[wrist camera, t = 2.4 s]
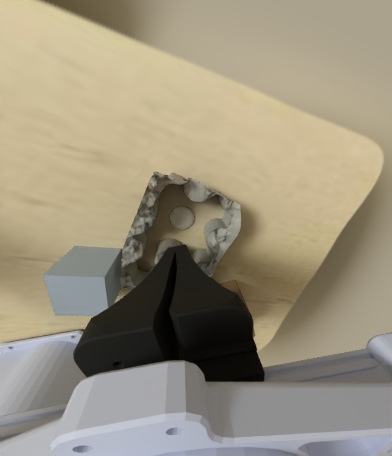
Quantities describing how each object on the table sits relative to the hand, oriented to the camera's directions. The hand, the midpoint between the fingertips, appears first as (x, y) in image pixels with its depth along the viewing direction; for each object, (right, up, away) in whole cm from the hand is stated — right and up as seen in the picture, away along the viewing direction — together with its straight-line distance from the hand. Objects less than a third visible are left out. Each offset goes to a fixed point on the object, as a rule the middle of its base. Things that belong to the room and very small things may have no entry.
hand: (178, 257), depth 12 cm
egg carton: (-1, +2, +4) cm, 4 cm away
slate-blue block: (-8, -1, +4) cm, 9 cm away
